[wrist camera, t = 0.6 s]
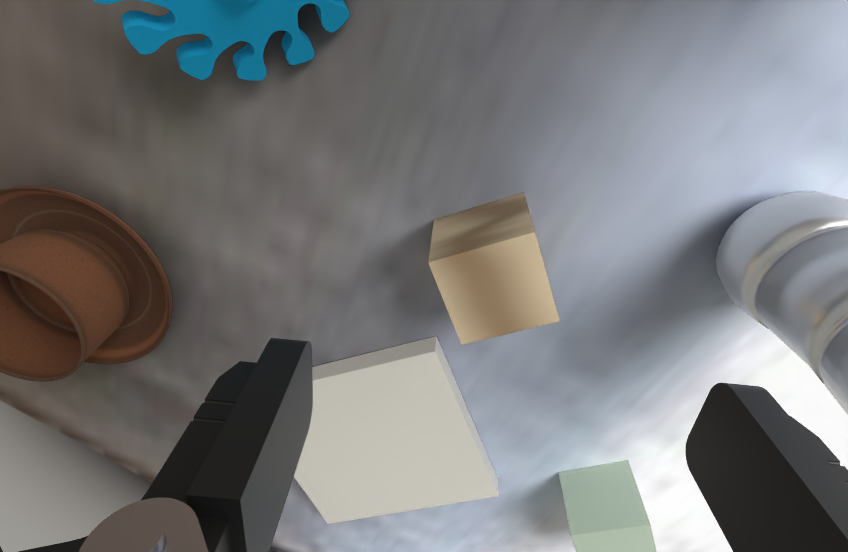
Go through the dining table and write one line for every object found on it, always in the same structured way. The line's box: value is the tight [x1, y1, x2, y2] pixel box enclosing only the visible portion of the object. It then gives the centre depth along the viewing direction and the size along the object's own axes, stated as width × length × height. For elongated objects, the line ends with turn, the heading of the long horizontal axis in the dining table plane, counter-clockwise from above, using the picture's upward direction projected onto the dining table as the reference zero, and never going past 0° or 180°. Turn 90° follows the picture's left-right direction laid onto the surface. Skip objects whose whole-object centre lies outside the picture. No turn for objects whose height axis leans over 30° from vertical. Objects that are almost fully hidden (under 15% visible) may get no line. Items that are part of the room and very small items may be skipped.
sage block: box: [558, 460, 656, 552], centre depth 35 cm, size 5×5×5 cm
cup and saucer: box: [0, 186, 173, 381], centre depth 28 cm, size 12×12×6 cm
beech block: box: [428, 192, 560, 345], centre depth 25 cm, size 5×5×5 cm
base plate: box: [294, 336, 499, 524], centre depth 35 cm, size 14×14×2 cm
